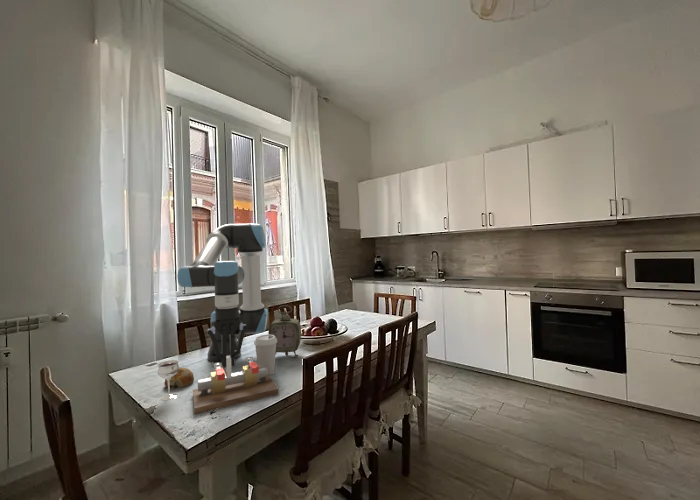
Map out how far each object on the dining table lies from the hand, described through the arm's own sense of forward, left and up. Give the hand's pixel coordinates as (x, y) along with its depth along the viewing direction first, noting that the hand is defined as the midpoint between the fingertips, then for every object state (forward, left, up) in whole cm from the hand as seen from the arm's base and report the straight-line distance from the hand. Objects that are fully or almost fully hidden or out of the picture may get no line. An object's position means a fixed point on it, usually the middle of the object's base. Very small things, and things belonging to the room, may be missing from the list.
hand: (228, 376), depth 106 cm
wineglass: (-16, -18, -10) cm, 26 cm away
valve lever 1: (-4, -3, 0) cm, 4 cm away
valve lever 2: (-4, +8, 0) cm, 9 cm away
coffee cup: (-20, +17, -10) cm, 28 cm away
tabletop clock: (-35, +30, -10) cm, 48 cm away
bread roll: (-27, -15, -10) cm, 32 cm away
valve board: (-6, +3, -9) cm, 11 cm away
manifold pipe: (-8, +3, -7) cm, 12 cm away
